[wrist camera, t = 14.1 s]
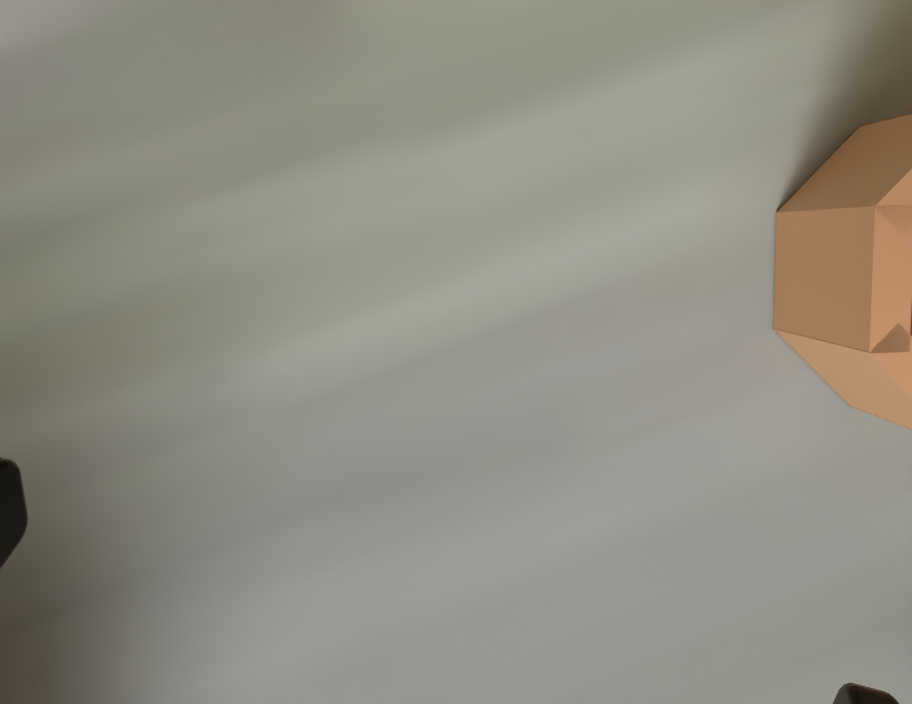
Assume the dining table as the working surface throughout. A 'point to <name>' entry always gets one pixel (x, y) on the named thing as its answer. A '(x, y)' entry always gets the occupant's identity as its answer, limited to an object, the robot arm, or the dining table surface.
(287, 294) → the dining table surface
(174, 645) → the dining table surface
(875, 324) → the terracotta cup
